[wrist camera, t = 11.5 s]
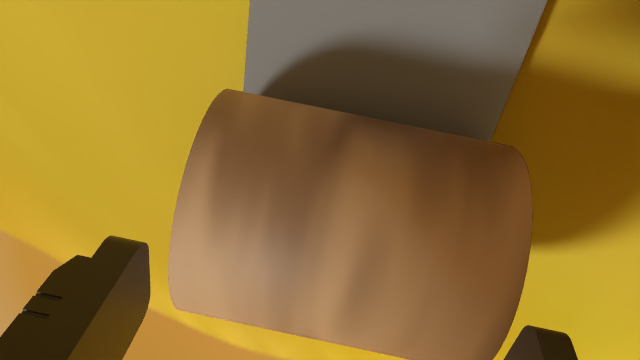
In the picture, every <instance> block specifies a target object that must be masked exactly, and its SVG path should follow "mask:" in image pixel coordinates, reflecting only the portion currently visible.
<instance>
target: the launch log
mask: <svg viewBox="0 0 640 360" xmlns="http://www.w3.org/2000/svg"><path fill="white" fill-rule="evenodd" d="M532 217H533V211H532V191H531V183H530V177H529V172H528V169H527V166H526V163H525V160H524V158H523V156H522V155H521V153H520V152H519V151H518V150H517V149H516V148H514V147H513V146H508V145H503V144H498V143H493V142H488V141H483V140H479V139H474V138H469V137H464V136H459V135H454V134H449V133H444V132H439V131H434V130H429V129H424V128H419V127H414V126H409V125H404V124H399V123H394V122H389V121H384V120H379V119H374V118H370V117H365V116H360V115H355V114H350V113H345V112H340V111H335V110H330V109H325V108H320V107H315V106H310V105H305V104H300V103H295V102H290V101H285V100H280V99H275V98H270V97H265V96H261V95H256V94H251V93H246V92H241V91H236V90H231V89H226V90H223V91H222V92H221V93H219V94H218V96H217V97H216V98H215V99H214V100H213V102H212V104H211V105H210V107H209V108H208V110H207V112H206V114H205V116H204V118H203V120H202V122H201V125H200V127H199V129H198V131H197V134H196V137H195V139H194V142H193V145H192V148H191V151H190V154H189V157H188V160H187V163H186V167H185V170H184V174H183V177H182V181H181V185H180V190H179V194H178V198H177V203H176V208H175V213H174V219H173V225H172V232H171V240H170V249H169V263H168V280H169V291H170V297H171V300H172V303H173V305H174V306H175V308H176V309H178V310H180V311H185V312H189V313H194V314H199V315H204V316H208V317H213V318H218V319H222V320H227V321H232V322H236V323H241V324H246V325H250V326H255V327H260V328H264V329H269V330H274V331H279V332H283V333H288V334H293V335H297V336H302V337H307V338H311V339H316V340H321V341H325V342H330V343H335V344H340V345H344V346H349V347H354V348H358V349H363V350H368V351H372V352H377V353H382V354H386V355H391V356H396V357H400V358H405V359H410V360H493V359H494V357H495V356H496V354H497V353H498V351H499V350H500V348H501V346H502V344H503V342H504V340H505V339H506V337H507V334H508V332H509V330H510V327H511V325H512V322H513V320H514V317H515V314H516V311H517V308H518V305H519V301H520V297H521V294H522V290H523V286H524V281H525V277H526V272H527V266H528V260H529V254H530V246H531V236H532Z"/></svg>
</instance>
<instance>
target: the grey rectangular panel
mask: <svg viewBox="0 0 640 360" xmlns="http://www.w3.org/2000/svg"><path fill="white" fill-rule="evenodd" d="M547 1H548V0H250V7H249V21H248V35H247V49H246V63H245V77H244V91H243V92H246V93H251V94H256V95H261V96H265V97H270V98H275V99H280V100H285V101H290V102H295V103H300V104H305V105H310V106H315V107H320V108H325V109H330V110H335V111H340V112H345V113H350V114H355V115H360V116H365V117H370V118H374V119H379V120H384V121H389V122H394V123H399V124H404V125H409V126H414V127H419V128H424V129H429V130H434V131H439V132H444V133H449V134H454V135H459V136H464V137H469V138H474V139H479V140H483V141H488V142H490V141H491V139H492V136H493V134H494V131H495V129H496V126H497V124H498V121H499V119H500V117H501V114H502V112H503V109H504V107H505V104H506V102H507V99H508V97H509V94H510V92H511V89H512V87H513V84H514V82H515V80H516V77H517V75H518V72H519V70H520V67H521V65H522V62H523V60H524V57H525V55H526V52H527V50H528V47H529V45H530V43H531V40H532V38H533V35H534V33H535V30H536V28H537V25H538V23H539V20H540V18H541V15H542V13H543V10H544V8H545V6H546V3H547Z"/></svg>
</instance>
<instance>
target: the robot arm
mask: <svg viewBox="0 0 640 360" xmlns="http://www.w3.org/2000/svg"><path fill="white" fill-rule="evenodd" d="M149 300H150V270H149V249H148V245H147V243H144V242H139V241H135V240H130V239H125V238H120V237H116V236H109V237H107V238H106V239H105V240H104V241H103V243H102V244H101V245H100V247H99V248H98V250H97V251H96V252H95V254H94V255H93V256H92V258H90V257H85V256H80V255H77V256H75V257H74V258H72V259H71V260H69V261H68V262H66V263H64V264H63V265H61V266H60V267H59V268H57V269H55V270H54V271H53V272H52V273H51V274H50V276H49V277H48V278H47V279H46V281H45V282H44V283H43V284H42V286H41V287H40V288H39V289H38V291H37V294H36V296H33V297H32V298H31V299H30V301H29V302H28V303H27V304H26V306H25V307H24V308H23V312H22V313H21V314H18V316H17V317H16V318H15V319H14V321H13V322H12V323H11V324H10V326H9V327H8V328H7V329H6V331H5V332H4V333H3V335H2V336H1V337H0V360H122V359H123V357H124V355H125V353H126V351H127V349H128V348H129V346H130V344H131V342H132V340H133V338H134V336H135V334H136V332H137V331H138V328H139V327H140V325H141V323H142V321H143V319H144V317H145V314H146V311H147V308H148V304H149ZM504 360H578V359H577V356H576V353H575V350H574V347H573V344H572V342H571V339H570V338H569V336H568V335H567V334H565V333H562V332H558V331H553V330H548V329H544V328H539V327H534V326H529V325H528V326H525V327H524V328H523V329H522V331H521V332H520V334H519V336H518V337H517V339H516V340H515V342H514V344H513V345H512V347H511V349H510V350H509V352H508V353H507V355H506V357H505V358H504Z"/></svg>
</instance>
